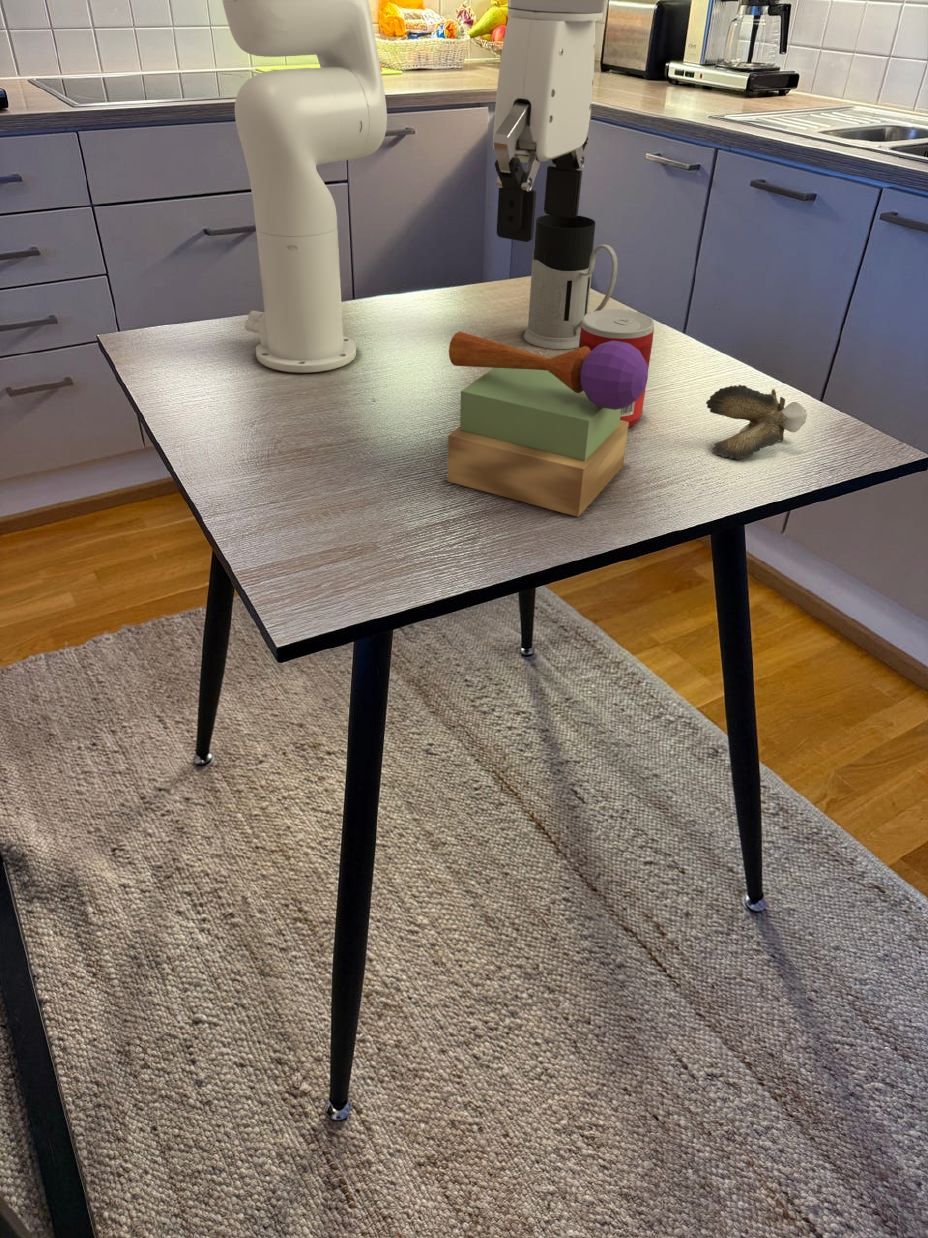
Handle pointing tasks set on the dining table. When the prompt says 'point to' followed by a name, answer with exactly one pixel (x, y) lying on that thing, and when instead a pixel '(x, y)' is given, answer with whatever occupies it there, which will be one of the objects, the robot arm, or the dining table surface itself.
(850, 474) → the dining table surface
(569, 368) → the purple wooden maraca
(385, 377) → the dining table surface
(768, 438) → the eagle figurine
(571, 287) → the glass holder
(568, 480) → the maple block
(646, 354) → the canned food
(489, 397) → the sage block
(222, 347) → the dining table surface
